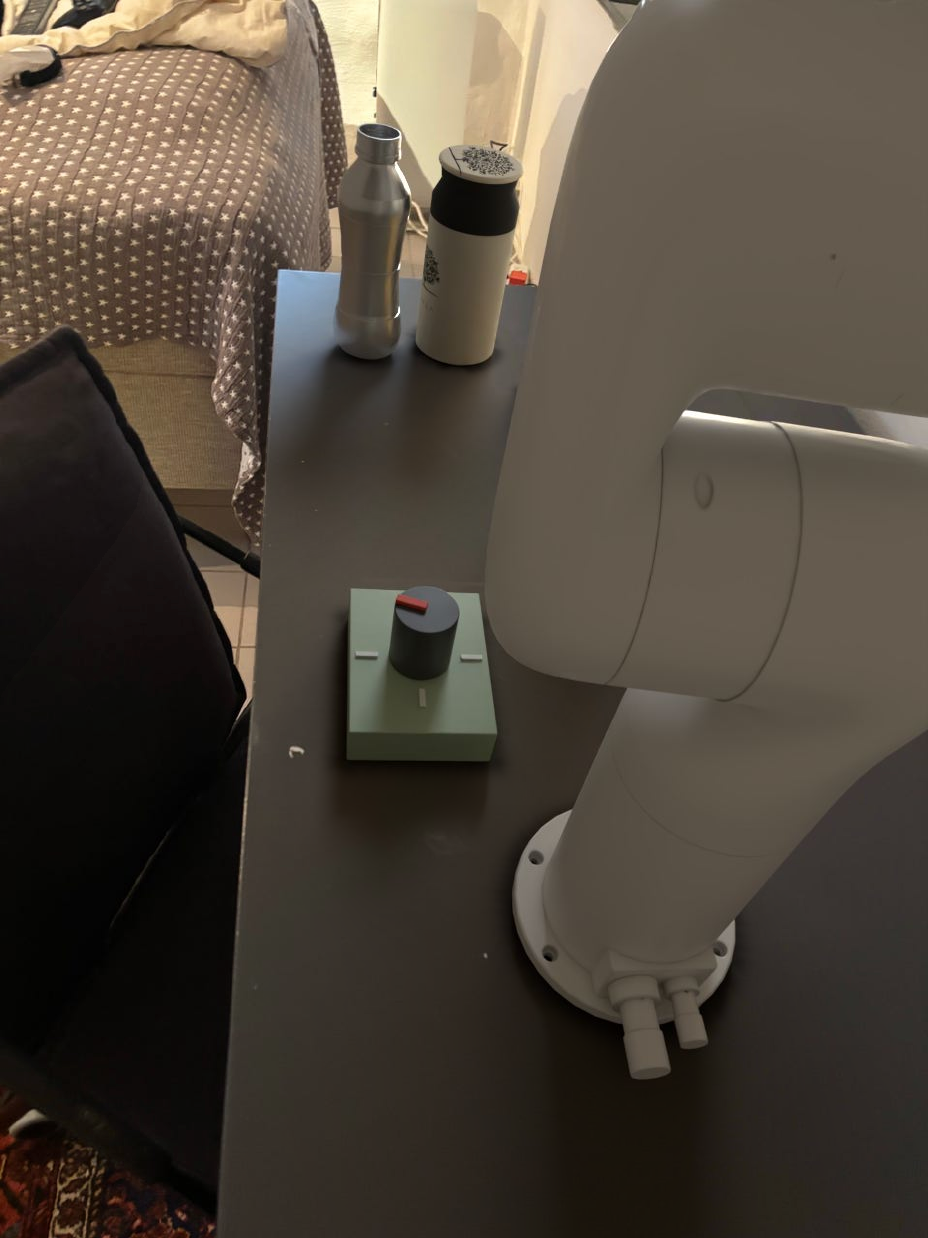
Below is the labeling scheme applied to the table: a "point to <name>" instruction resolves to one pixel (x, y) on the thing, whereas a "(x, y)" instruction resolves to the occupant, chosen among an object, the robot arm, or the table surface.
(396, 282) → the silver metal bottle
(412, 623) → the knob
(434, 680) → the panel
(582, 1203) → the table surface
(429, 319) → the travel mug
